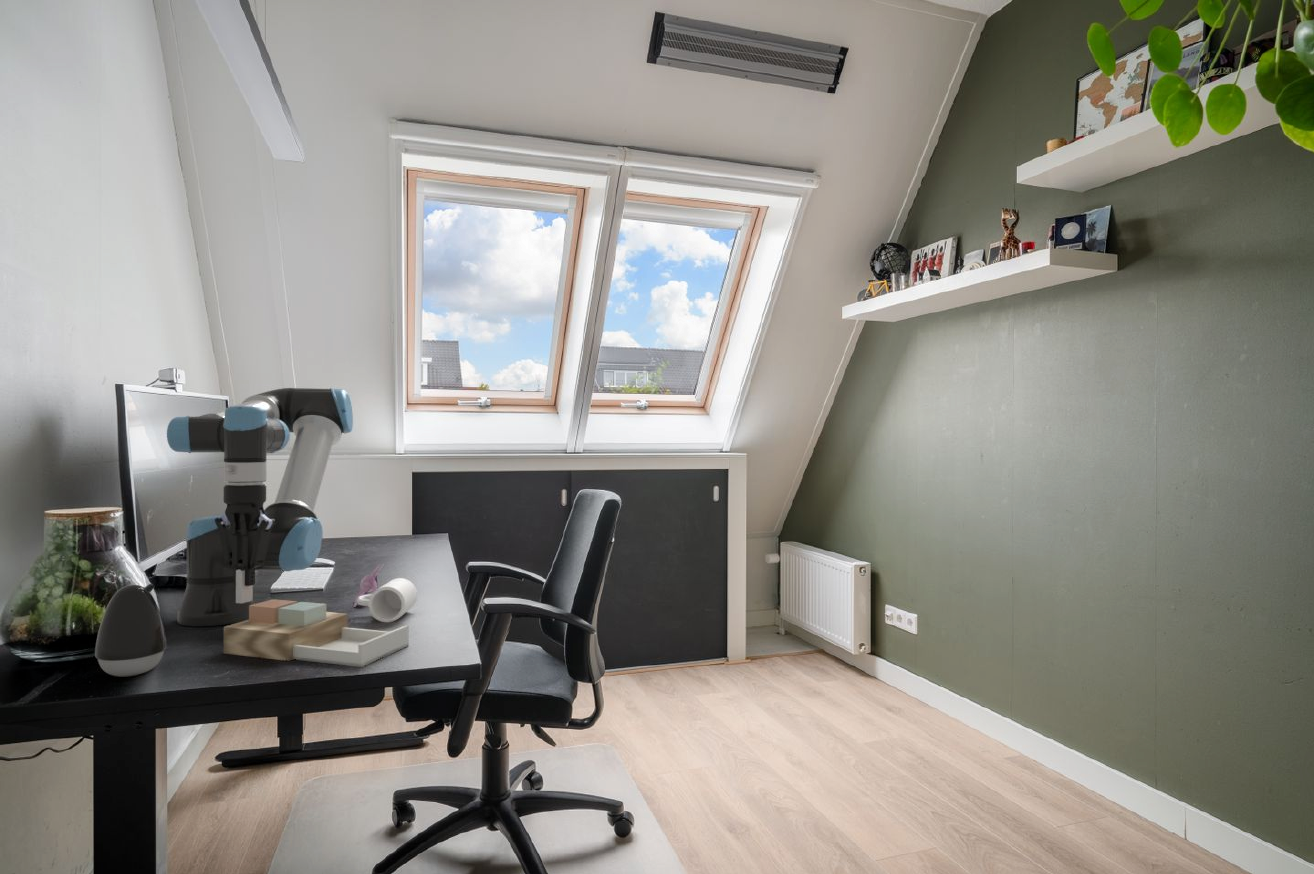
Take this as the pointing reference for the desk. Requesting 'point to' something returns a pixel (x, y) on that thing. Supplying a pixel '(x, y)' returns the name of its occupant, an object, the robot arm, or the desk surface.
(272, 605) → the tile terracotta
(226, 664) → the desk surface
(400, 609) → the mug
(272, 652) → the oak board
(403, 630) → the tray
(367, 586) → the lily
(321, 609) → the tile grey
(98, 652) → the grey egg-shaped pod
